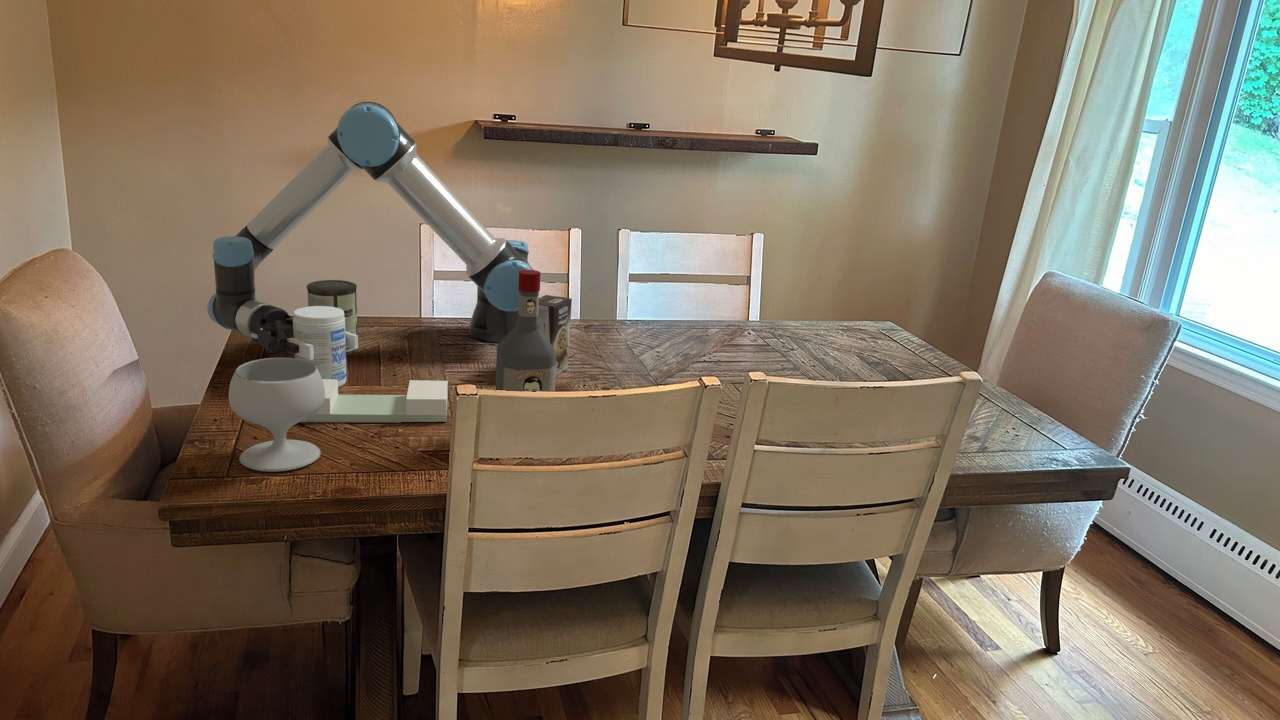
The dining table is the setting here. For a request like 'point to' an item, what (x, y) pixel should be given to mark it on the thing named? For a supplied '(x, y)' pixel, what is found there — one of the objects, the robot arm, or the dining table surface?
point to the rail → (385, 404)
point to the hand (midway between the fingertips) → (334, 347)
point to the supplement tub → (323, 339)
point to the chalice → (277, 409)
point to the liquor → (526, 345)
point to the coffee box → (556, 326)
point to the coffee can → (336, 300)
